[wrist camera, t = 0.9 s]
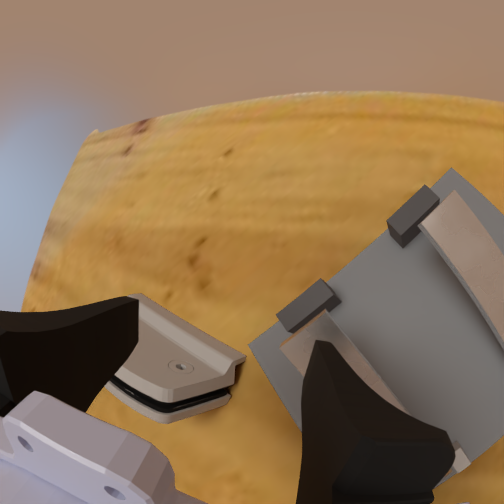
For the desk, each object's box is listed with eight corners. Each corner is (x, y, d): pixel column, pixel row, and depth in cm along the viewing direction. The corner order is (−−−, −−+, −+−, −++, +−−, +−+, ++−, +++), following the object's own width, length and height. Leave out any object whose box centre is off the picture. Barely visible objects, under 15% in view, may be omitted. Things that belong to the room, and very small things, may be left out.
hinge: (250, 357, 27) (159, 393, 19) (239, 399, 27) (155, 441, 19) (139, 292, 36) (63, 298, 28) (135, 327, 37) (63, 339, 29)
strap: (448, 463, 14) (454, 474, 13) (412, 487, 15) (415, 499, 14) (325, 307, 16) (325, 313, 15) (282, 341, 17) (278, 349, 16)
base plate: (581, 333, 13) (608, 324, 9) (369, 515, 17) (358, 541, 13) (450, 180, 23) (452, 148, 19) (259, 346, 27) (230, 341, 23)
